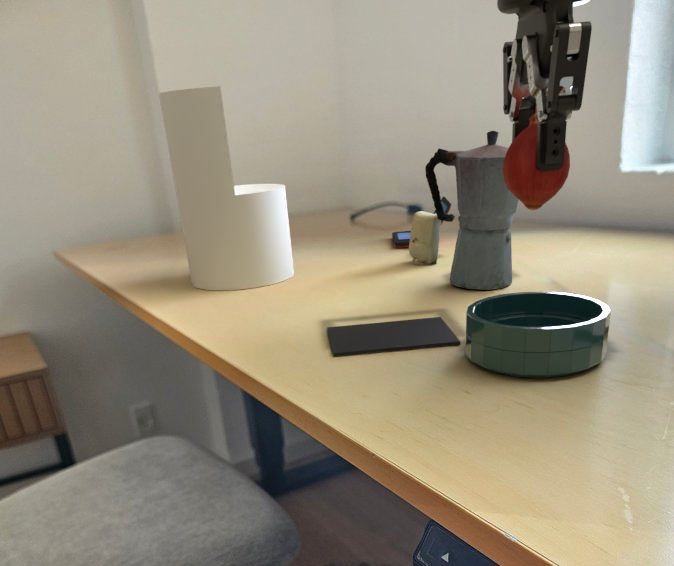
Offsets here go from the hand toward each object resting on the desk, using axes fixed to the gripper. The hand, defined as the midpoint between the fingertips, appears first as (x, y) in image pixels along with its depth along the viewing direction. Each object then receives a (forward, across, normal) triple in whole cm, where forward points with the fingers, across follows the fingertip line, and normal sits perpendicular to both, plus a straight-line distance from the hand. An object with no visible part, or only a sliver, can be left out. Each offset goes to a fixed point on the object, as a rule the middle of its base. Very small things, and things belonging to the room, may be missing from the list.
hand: (535, 167), depth 59 cm
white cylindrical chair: (+18, +51, +31) cm, 62 cm away
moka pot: (+18, +31, -4) cm, 36 cm away
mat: (+18, +10, +12) cm, 24 cm away
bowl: (+18, -1, -1) cm, 18 cm away
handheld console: (+18, +69, -3) cm, 72 cm away
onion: (+4, 0, 0) cm, 4 cm away
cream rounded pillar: (+18, +49, 0) cm, 53 cm away
